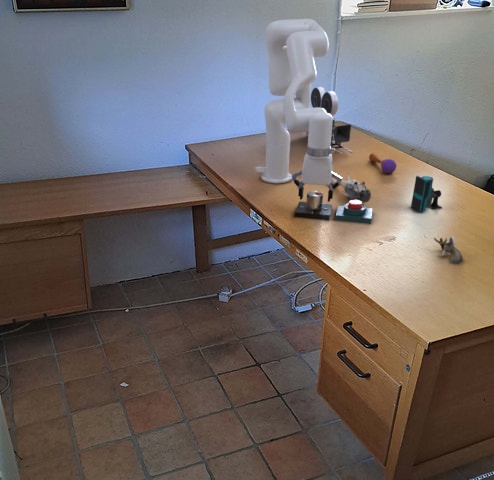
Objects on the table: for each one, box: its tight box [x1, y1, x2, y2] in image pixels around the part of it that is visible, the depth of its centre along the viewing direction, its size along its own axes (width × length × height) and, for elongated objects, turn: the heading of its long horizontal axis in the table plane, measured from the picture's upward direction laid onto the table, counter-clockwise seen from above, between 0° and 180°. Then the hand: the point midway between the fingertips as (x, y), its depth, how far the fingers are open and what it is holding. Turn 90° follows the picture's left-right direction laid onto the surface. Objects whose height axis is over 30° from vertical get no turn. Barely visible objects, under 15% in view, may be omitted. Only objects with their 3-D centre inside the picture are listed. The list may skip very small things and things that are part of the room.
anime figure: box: [331, 173, 372, 204], centre depth 210 cm, size 10×7×30 cm
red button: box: [348, 199, 363, 210], centre depth 192 cm, size 4×4×2 cm
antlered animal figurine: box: [433, 235, 464, 265], centre depth 166 cm, size 8×7×9 cm
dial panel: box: [294, 200, 334, 221], centre depth 197 cm, size 12×10×2 cm
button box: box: [334, 202, 374, 225], centre depth 193 cm, size 12×9×4 cm
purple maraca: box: [368, 152, 397, 175], centre depth 236 cm, size 6×6×20 cm
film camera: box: [305, 86, 354, 155], centre depth 261 cm, size 40×12×24 cm, turn 17°
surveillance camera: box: [410, 175, 443, 214], centre depth 196 cm, size 6×12×10 cm
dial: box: [305, 190, 324, 211], centre depth 195 cm, size 6×6×6 cm
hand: (315, 199), depth 195 cm, fingers open, 9 cm apart
